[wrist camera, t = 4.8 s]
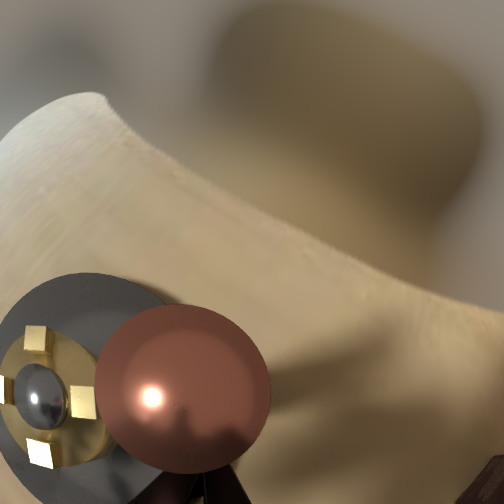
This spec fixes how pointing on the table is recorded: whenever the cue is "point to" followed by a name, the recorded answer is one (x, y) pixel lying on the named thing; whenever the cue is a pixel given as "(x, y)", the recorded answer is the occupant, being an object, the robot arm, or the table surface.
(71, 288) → the dark gray disc base
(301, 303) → the table surface
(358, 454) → the table surface
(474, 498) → the box
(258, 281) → the table surface
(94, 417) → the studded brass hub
